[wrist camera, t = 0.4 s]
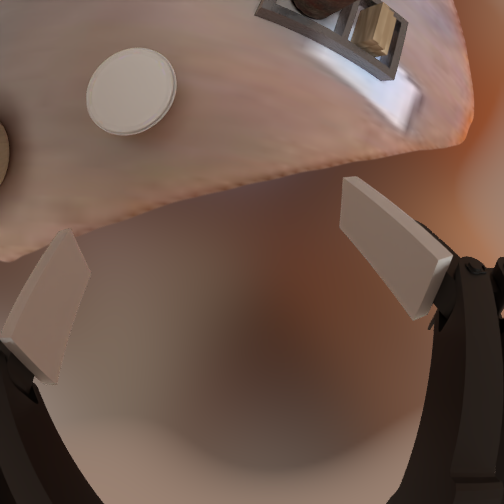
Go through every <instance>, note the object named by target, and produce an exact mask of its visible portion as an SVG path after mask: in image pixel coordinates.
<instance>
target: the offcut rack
mask: <svg viewBox="0 0 504 504" xmlns="http://www.w3.org/2000/svg"><path fill="white" fill-rule="evenodd" d="M275 2H276V0H261V2H260V4H259V7H258V9H257V11H256V13H255V15H256V16H258V17H261V18H264V19H267V20H269V21H272V22H274V23H277V24H279V25H282V26H284V27H286V28H289V29H291V30H293V31H295V32H298V33H300V34H302V35H304V36H306V37H308V38H310V39H312V40H314V41H316V42H318V43H320V44H322V45H324V46H326V47H328V48H329V49H331V50H333V51H335V52H337V53H338V54H340V55H342V56H343V57H345V58H347V59H349V60H350V61H352V62H353V63H355V64H357V65H358V66H360V67H361V68H363V69H364V70H366V71H367V72H369V73H370V74H372V75H373V76H375V77H376V78H378V79H379V80H381V81H387V80H394V78H395V75H396V71H397V68H398V64H399V60H400V56H401V52H402V48H403V44H404V40H405V35H406V31H407V26H408V22H407V21H406V20H405V19H404V18H402V17H401V16H400V15H399V14H398V13H396V12H395V11H394V10H392V9H391V8H390V7H389V9H390V10H391V11H393V12H394V15H393V16H394V17H395V18H396V23H395V27H394V31H393V35H392V39H391V42H390V46H389V50H388V54H387V55H385V56H381V58H380V61H379V60H377V59H376V58H375V57H373V56H372V55H370V54H369V53H367V52H366V51H364V50H363V49H361V48H360V47H358V46H357V45H355V44H353V43H352V42H350V41H349V40H348V37H349V34H350V31H351V28H352V25H353V22H354V18H355V15H356V12H357V9H358V6H359V5H361V6H362V7H364V8H365V9H366V8H369V7H371V6H374V5H377V4H379V3H382V1H381V0H357V1H356V2H354V3H352V4H350V5H348V6H346V7H344V8H343V9H342V10H341V13H340V16H339V18H338V21H337V24H336V27H335V30H334V32H333V31H331V30H330V29H328V28H326V27H324V26H322V25H320V24H318V23H317V22H315V21H313V20H311V19H309V18H306V17H304V16H302V15H300V14H298V13H296V12H294V11H291V10H289V9H287V8H284V7H282V6H279V5H277V4H275Z"/></svg>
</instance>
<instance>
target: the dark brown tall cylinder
mask: <svg viewBox="0 0 504 504" xmlns="http://www.w3.org/2000/svg"><path fill="white" fill-rule="evenodd" d="M293 1H294V3H295V5H296V6H297V8H299V9H300V10H301V11H302V12H303V13H304V14H305V15H307V16H310V17H313V18H315V19H324V18H326V17H328V16H330V15H332V14H334V13H335V12H337V11H339V10H341V9H343V8H344V7H346V6H348V5H350V4H352V3H354V2H356V1H357V0H293Z"/></svg>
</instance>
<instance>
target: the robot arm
mask: <svg viewBox="0 0 504 504" xmlns="http://www.w3.org/2000/svg"><path fill="white" fill-rule="evenodd" d="M340 229H341V230H342V231H343V232H344V233H345V234H346V235H347V236H348V238H349V239H350V240H351V241H352V243H353V244H354V245H355V246H356V247H357V249H358V250H359V251H360V252H361V253H362V254H363V256H364V257H365V258H366V259H367V261H368V262H369V263H370V264H371V266H372V267H373V268H374V269H375V270H376V272H377V273H378V274H379V276H380V277H381V278H382V280H383V281H384V282H385V284H386V285H387V286H388V287H389V289H390V290H391V291H392V292H393V294H394V295H395V297H396V298H397V299H398V301H399V302H400V303H401V305H402V306H403V307H404V309H405V310H406V312H407V313H408V314H409V316H410V317H411V319H412V320H413V321H414V320H416V319H418V318H421V317H423V316H425V315H427V314H428V312H429V310H430V308H431V306H432V304H433V303H434V304H435V306H436V307H437V308H438V309H437V311H436V313H435V315H434V317H433V319H432V320H431V323H430V324H429V327H428V330H430V329H431V327H432V326H433V324H434V337H433V349H432V359H431V367H430V373H429V380H428V386H427V392H426V397H425V403H424V407H423V412H422V416H421V421H420V425H419V429H418V433H417V437H416V440H415V443H414V447H413V450H412V454H411V457H410V460H409V463H408V466H407V469H406V471H405V474H404V477H403V479H402V482H401V484H400V487H399V488H398V490H397V491H396V493H395V494H394V495H393V496H392V497H391V498H390V499H389V500H388V502H387V503H386V504H504V318H502V316H501V312H502V310H503V309H504V257H500V258H499V259H498V260H497V262H496V265H495V267H494V268H486V267H485V266H484V265H483V264H482V263H481V262H480V261H478V260H477V259H475V258H472V257H467V256H466V257H462V258H460V257H459V256H458V255H457V254H456V253H455V252H454V251H453V250H452V249H451V248H450V247H449V246H447V245H446V244H445V243H444V242H443V241H442V240H441V239H439V238H438V237H437V236H436V235H435V234H434V233H432V231H431V230H430V229H428V228H427V227H426V226H425V225H423V224H422V223H420V222H418V221H416V220H414V219H412V218H411V217H410V216H408V215H407V214H406V213H405V212H404V211H402V210H401V209H400V208H398V207H397V206H396V205H395V204H394V203H392V202H391V201H390V200H388V199H387V198H386V197H384V196H383V195H381V194H380V193H379V192H378V191H376V190H375V189H374V188H372V187H371V186H369V185H368V184H367V183H365V182H364V181H363V180H361V179H360V178H358V177H357V176H355V177H344V178H343V188H342V203H341V216H340ZM90 275H91V271H90V269H89V267H88V265H87V263H86V261H85V259H84V257H83V255H82V252H81V250H80V248H79V246H78V244H77V242H76V239H75V237H74V235H73V232H72V230H71V228H69V229H65V230H62V231H59V232H58V233H57V235H56V236H55V238H54V239H53V240H52V242H51V243H50V245H49V246H48V248H47V249H46V251H45V252H44V254H43V256H42V257H41V259H40V260H39V262H38V263H37V265H36V267H35V268H34V270H33V272H32V273H31V275H30V277H29V278H28V280H27V282H26V284H25V285H24V287H23V289H22V291H21V293H20V294H19V296H18V298H17V300H16V302H15V304H14V306H13V308H12V310H11V312H10V314H9V316H8V318H7V320H6V322H5V325H4V327H3V329H2V331H1V334H0V504H104V503H103V502H102V501H101V499H100V498H99V497H98V496H97V495H96V493H95V492H94V490H93V489H92V487H91V486H90V485H89V484H88V482H87V480H86V479H85V477H84V476H83V474H82V473H81V471H80V470H79V468H78V467H77V465H76V463H75V462H74V460H73V459H72V457H71V455H70V454H69V452H68V450H67V448H66V447H65V445H64V443H63V441H62V439H61V437H60V436H59V434H58V432H57V430H56V428H55V426H54V424H53V422H52V419H51V417H50V415H49V413H48V411H47V409H46V406H45V404H44V402H43V399H42V397H41V394H40V392H39V389H38V387H37V386H36V384H34V383H33V378H34V376H35V377H36V378H37V379H38V380H40V381H41V382H42V383H43V384H49V385H57V382H58V377H59V373H60V369H61V365H62V361H63V357H64V353H65V349H66V346H67V342H68V339H69V335H70V332H71V329H72V326H73V322H74V319H75V316H76V313H77V310H78V308H79V305H80V302H81V299H82V296H83V293H84V291H85V288H86V286H87V283H88V281H89V278H90Z"/></svg>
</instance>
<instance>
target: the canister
mask: <svg viewBox="0 0 504 504" xmlns="http://www.w3.org/2000/svg"><path fill="white" fill-rule="evenodd" d="M9 149H10V148H9V142H8V136H7V134H6V131H5V129H4V127H3V126H2V124H1V122H0V185H1V183H2V181H3V180H4V176H5V175H6V170H7V168H8V162H9V155H10V154H9Z"/></svg>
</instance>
